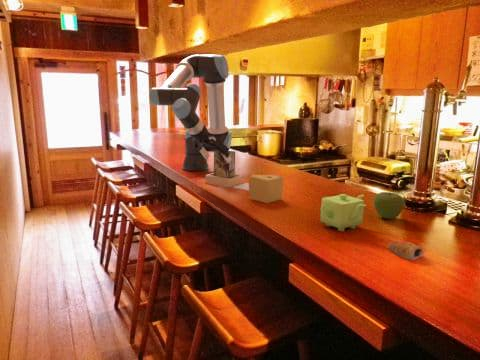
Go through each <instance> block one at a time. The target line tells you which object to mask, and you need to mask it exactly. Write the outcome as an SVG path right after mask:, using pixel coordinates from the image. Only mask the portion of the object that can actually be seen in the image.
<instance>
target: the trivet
mask: <svg viewBox="0 0 480 360" xmlns="http://www.w3.org/2000/svg"><path fill="white" fill-rule="evenodd" d="M232 188H233V189H236V190H241V191H245V192H249V182H246V183H245V182H244V183H243V184H239V185H236V186H232Z"/></svg>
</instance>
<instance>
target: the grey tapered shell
mask: <svg viewBox="0 0 480 360" xmlns="http://www.w3.org/2000/svg"><path fill="white" fill-rule="evenodd" d="M387 245H388V246H387V247H388V249H389V250H390V251H391V252H392V253H393V254H394V255H395V256H396V255H397V256H398V257H401V258H402V259H404V260H408V261H415V260H417V259H420V258H422V257H423V256H424V249H423V247H422V246H421V245H416V244H414V243H413V242H410V241H409V242H408V241H390V242H388V244H387Z"/></svg>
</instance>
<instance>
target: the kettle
mask: <svg viewBox="0 0 480 360" xmlns="http://www.w3.org/2000/svg"><path fill="white" fill-rule="evenodd" d="M364 196H365V195H364V194H359V195H357V197H354V196H351V195H348V194H347V193H346V194H345V193H341V194H338V195H333V196H332V195H331V196H326V197H325V196H324V197H322V198H321V206H320V207H321V208H319V209H320V210H319V211H320V223H321V222H322V223H325V226H326V227H333V228H337V231H338V232H345V231H346V230H345V229H346V228H350V229H356V228H357V227H356V226H359V225H362V224H363V220H364V210H365V207H367V205H366V204H365V200H363V199H362V198H363V197H364Z"/></svg>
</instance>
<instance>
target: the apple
mask: <svg viewBox="0 0 480 360" xmlns="http://www.w3.org/2000/svg"><path fill="white" fill-rule="evenodd" d="M372 202H373V206H374V208H375V211H376V213H377V215H379V216H380V217H381V218H383V219H384V220H385V219H386V220H394V219H396V218H397V217H399V216H400V214H401V213H402V211H403V210H404V208H405V206H406V204H407V203H406V200H405V198H404V197H403V196H402V195H399V193H397V192H396V193H395V192H391V191H390V192H388V191H387V192H385V191H380V192H379V193H377V194H376V195H375V196H374V198H373V201H372Z"/></svg>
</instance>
